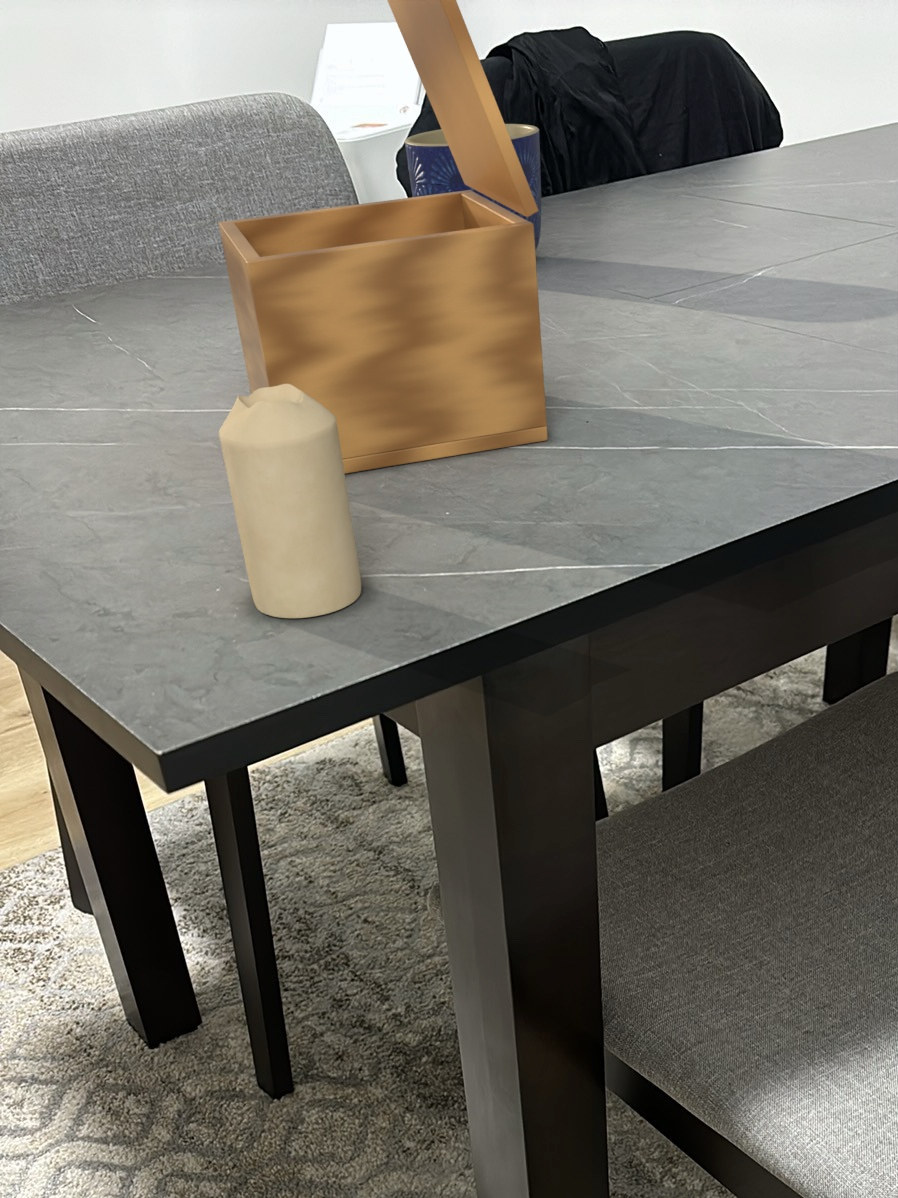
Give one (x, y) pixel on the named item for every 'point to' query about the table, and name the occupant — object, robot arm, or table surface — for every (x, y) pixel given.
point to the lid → (463, 100)
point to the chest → (397, 322)
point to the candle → (291, 503)
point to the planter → (441, 174)
